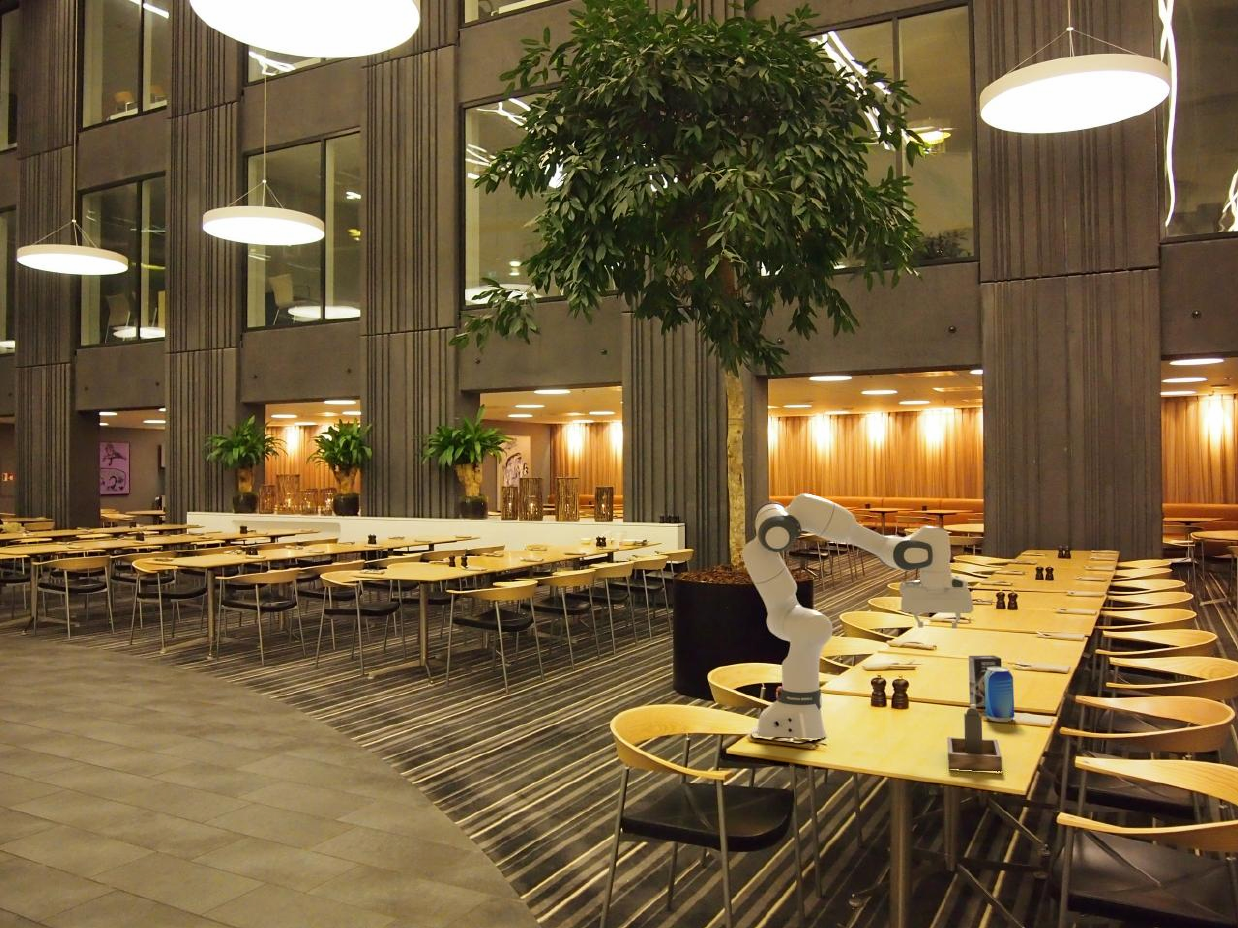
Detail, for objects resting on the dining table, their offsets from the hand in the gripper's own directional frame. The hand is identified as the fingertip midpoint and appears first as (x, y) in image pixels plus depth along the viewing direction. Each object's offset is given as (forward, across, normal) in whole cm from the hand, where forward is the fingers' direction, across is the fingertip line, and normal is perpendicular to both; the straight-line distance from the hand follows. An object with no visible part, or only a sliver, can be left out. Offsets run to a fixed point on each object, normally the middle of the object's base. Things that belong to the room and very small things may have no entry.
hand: (937, 627), depth 272 cm
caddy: (+33, +8, -21) cm, 40 cm away
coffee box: (+33, +15, +47) cm, 60 cm away
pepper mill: (+32, +8, -21) cm, 39 cm away
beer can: (+33, +18, +28) cm, 47 cm away
